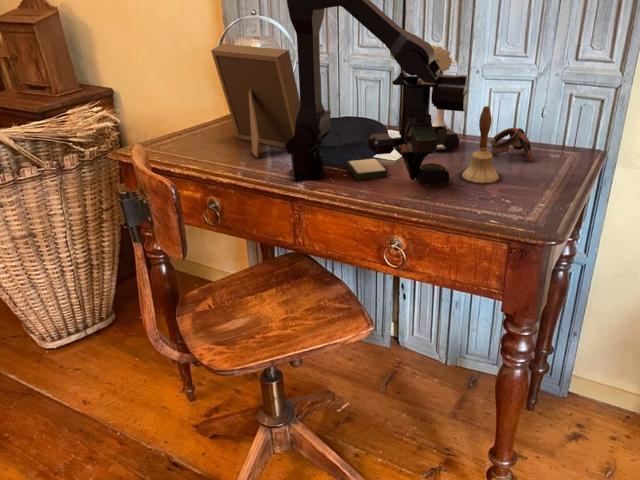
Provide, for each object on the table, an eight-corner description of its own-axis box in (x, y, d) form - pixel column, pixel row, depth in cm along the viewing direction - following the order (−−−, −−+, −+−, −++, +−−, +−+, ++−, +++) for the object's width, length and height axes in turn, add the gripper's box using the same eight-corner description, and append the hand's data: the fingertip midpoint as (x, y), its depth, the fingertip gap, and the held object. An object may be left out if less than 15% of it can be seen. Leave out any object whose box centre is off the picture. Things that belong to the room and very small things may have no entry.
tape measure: (418, 189, 125) (419, 173, 123) (412, 178, 131) (412, 162, 129) (449, 187, 125) (450, 171, 123) (441, 177, 131) (442, 161, 129)
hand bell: (498, 184, 127) (507, 112, 119) (461, 182, 128) (466, 110, 120) (498, 172, 134) (506, 102, 126) (462, 170, 135) (468, 101, 127)
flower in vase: (468, 147, 150) (476, 46, 138) (438, 156, 144) (444, 51, 132) (432, 136, 159) (437, 40, 147) (403, 144, 153) (405, 45, 141)
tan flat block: (357, 180, 130) (356, 173, 129) (347, 167, 138) (347, 161, 137) (386, 176, 132) (386, 170, 131) (375, 164, 139) (375, 158, 138)
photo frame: (248, 134, 163) (237, 41, 151) (309, 146, 153) (303, 46, 140) (210, 148, 152) (195, 48, 140) (273, 161, 142) (263, 55, 130)
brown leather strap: (531, 167, 137) (517, 139, 134) (495, 178, 143) (481, 150, 140) (541, 141, 145) (528, 114, 141) (507, 152, 151) (494, 126, 147)
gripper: (383, 120, 109) (382, 197, 117) (473, 114, 113) (466, 188, 121) (367, 107, 118) (367, 178, 126) (451, 101, 122) (446, 171, 130)
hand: (412, 179), depth 125 cm, fingers closed
